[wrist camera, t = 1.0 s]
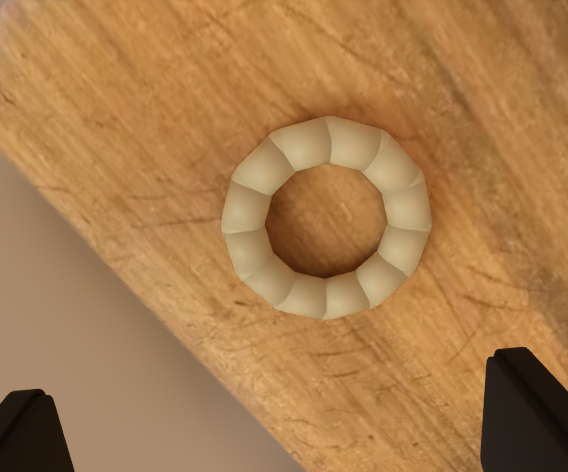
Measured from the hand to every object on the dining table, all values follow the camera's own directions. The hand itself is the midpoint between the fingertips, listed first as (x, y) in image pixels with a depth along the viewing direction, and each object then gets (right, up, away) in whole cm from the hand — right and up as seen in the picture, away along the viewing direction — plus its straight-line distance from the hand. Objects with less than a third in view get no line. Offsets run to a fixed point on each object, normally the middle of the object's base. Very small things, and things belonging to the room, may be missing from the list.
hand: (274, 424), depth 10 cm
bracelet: (+2, +5, +12) cm, 13 cm away
